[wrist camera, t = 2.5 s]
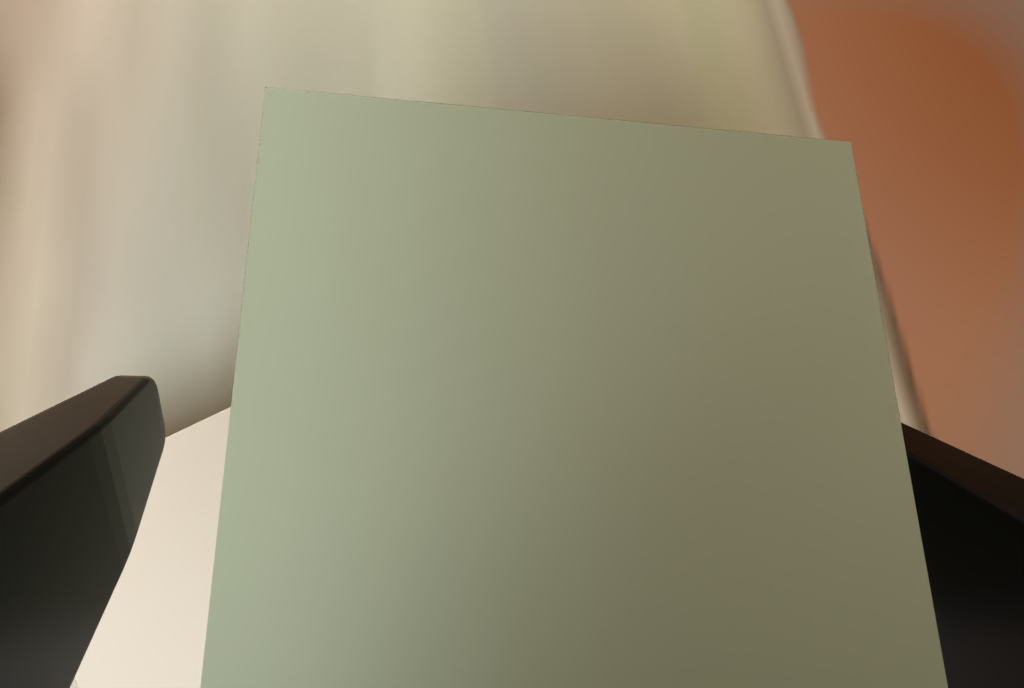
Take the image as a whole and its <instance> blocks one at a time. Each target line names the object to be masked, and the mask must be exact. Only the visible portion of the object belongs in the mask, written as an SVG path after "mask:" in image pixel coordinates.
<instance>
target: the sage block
mask: <svg viewBox="0 0 1024 688" xmlns="http://www.w3.org/2000/svg"><path fill="white" fill-rule="evenodd" d="M200 688H948V685H947V679H946V673H945V668H944V662H943V657H942V651H941V645H940V640H939V634H938V629H937V623H936V617H935V612H934V606H933V601H932V595H931V589H930V584H929V578H928V572H927V567H926V561H925V556H924V550H923V544H922V539H921V533H920V528H919V522H918V516H917V511H916V505H915V500H914V494H913V488H912V483H911V477H910V471H909V466H908V460H907V455H906V449H905V443H904V438H903V432H902V427H901V421H900V415H899V410H898V404H897V399H896V393H895V387H894V382H893V376H892V370H891V365H890V359H889V354H888V348H887V342H886V337H885V331H884V326H883V320H882V314H881V309H880V303H879V298H878V292H877V286H876V281H875V275H874V269H873V264H872V258H871V253H870V247H869V241H868V236H867V230H866V225H865V219H864V213H863V208H862V202H861V197H860V191H859V185H858V180H857V174H856V168H855V163H854V157H853V152H852V146H851V142H845V141H834V140H825V139H814V138H804V137H793V136H782V135H772V134H761V133H750V132H740V131H729V130H718V129H708V128H697V127H686V126H676V125H665V124H654V123H644V122H633V121H623V120H612V119H601V118H591V117H580V116H569V115H559V114H548V113H537V112H527V111H516V110H505V109H495V108H484V107H473V106H463V105H452V104H441V103H431V102H420V101H409V100H399V99H388V98H377V97H367V96H356V95H345V94H335V93H324V92H313V91H303V90H292V89H281V88H271V87H265V97H264V106H263V115H262V124H261V134H260V143H259V152H258V161H257V170H256V180H255V189H254V198H253V207H252V216H251V226H250V235H249V244H248V253H247V262H246V272H245V281H244V290H243V299H242V309H241V318H240V327H239V336H238V345H237V355H236V364H235V373H234V382H233V391H232V401H231V410H230V419H229V428H228V437H227V447H226V456H225V465H224V474H223V484H222V493H221V502H220V511H219V520H218V530H217V539H216V548H215V557H214V566H213V576H212V585H211V594H210V603H209V612H208V622H207V631H206V640H205V649H204V659H203V668H202V677H201V686H200Z"/></svg>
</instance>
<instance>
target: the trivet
mask: <svg viewBox="0 0 1024 688" xmlns="http://www.w3.org/2000/svg"><path fill="white" fill-rule="evenodd" d="M230 410H231V407H229V408H227V409H225V410H223V411H221V412H218V413H216V414H214V415H212V416H210V417H208V418H206V419H204V420H202V421H199V422H197V423H195V424H193V425H191V426H189V427H187V428H185V429H183V430H181V431H178V432H176V433H174V434H172V435H170V436H168V437H166V438H165V444H164V449H163V452H162V455H161V459H160V462H159V465H158V468H157V471H156V475H155V478H154V481H153V484H152V487H151V491H150V494H149V497H148V500H147V504H146V507H145V510H144V513H143V516H142V520H141V523H140V526H139V529H138V532H137V535H136V538H135V541H134V544H133V547H132V550H131V553H130V555H129V557H128V560H127V562H126V565H125V567H124V569H123V572H122V574H121V576H120V578H119V580H118V583H117V585H116V587H115V589H114V591H113V594H112V596H111V598H110V600H109V602H108V605H107V607H106V609H105V611H104V614H103V616H102V618H101V620H100V622H99V625H98V627H97V629H96V631H95V633H94V636H93V638H92V640H91V642H90V644H89V647H88V649H87V651H86V653H85V655H84V658H83V660H82V662H81V664H80V666H79V669H78V671H77V673H76V675H75V679H76V682H77V684H78V687H79V688H200V686H201V677H202V668H203V659H204V649H205V640H206V631H207V622H208V612H209V603H210V594H211V585H212V576H213V566H214V557H215V548H216V539H217V530H218V520H219V511H220V502H221V493H222V484H223V474H224V465H225V456H226V447H227V437H228V428H229V419H230Z"/></svg>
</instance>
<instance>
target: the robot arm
mask: <svg viewBox="0 0 1024 688" xmlns="http://www.w3.org/2000/svg"><path fill="white" fill-rule="evenodd" d="M901 427H902V432H903V438H904V443H905V449H906V455H907V460H908V466H909V471H910V477H911V483H912V488H913V494H914V500H915V505H916V511H917V516H918V522H919V528H920V533H921V539H922V544H923V550H924V556H925V561H926V567H927V572H928V578H929V584H930V589H931V595H932V601H933V606H934V612H935V617H936V623H937V629H938V634H939V640H940V645H941V651H942V657H943V662H944V668H945V673H946V679H947V685H948V688H1024V479H1023V478H1021V477H1018V476H1016V475H1014V474H1012V473H1010V472H1008V471H1005V470H1003V469H1001V468H999V467H997V466H994V465H992V464H990V463H988V462H986V461H983V460H981V459H979V458H977V457H975V456H972V455H970V454H968V453H966V452H964V451H962V450H960V449H958V448H955V447H953V446H951V445H949V444H947V443H944V442H942V441H940V440H938V439H936V438H934V437H931V436H929V435H927V434H925V433H923V432H921V431H918V430H916V429H914V428H912V427H910V426H908V425H905V424H903V423H901ZM164 444H165V426H164V421H163V415H162V410H161V405H160V399H159V394H158V389H157V385H156V383H155V381H154V380H153V379H152V378H150V377H148V376H115V377H113V378H110V379H108V380H106V381H104V382H102V383H100V384H98V385H96V386H94V387H92V388H90V389H88V390H86V391H84V392H82V393H80V394H78V395H76V396H74V397H71V398H69V399H67V400H65V401H63V402H61V403H59V404H57V405H55V406H53V407H51V408H49V409H47V410H45V411H43V412H41V413H39V414H37V415H35V416H32V417H30V418H28V419H26V420H24V421H22V422H20V423H18V424H16V425H14V426H12V427H10V428H8V429H6V430H4V431H2V432H0V688H70V686H71V684H72V682H73V680H74V677H75V675H76V673H77V671H78V669H79V666H80V664H81V662H82V660H83V658H84V655H85V653H86V651H87V649H88V647H89V644H90V642H91V640H92V638H93V636H94V633H95V631H96V629H97V627H98V625H99V622H100V620H101V618H102V616H103V614H104V611H105V609H106V607H107V605H108V602H109V600H110V598H111V596H112V594H113V591H114V589H115V587H116V585H117V583H118V580H119V578H120V576H121V574H122V572H123V569H124V567H125V565H126V562H127V560H128V557H129V555H130V553H131V550H132V547H133V544H134V541H135V538H136V535H137V532H138V529H139V526H140V523H141V520H142V516H143V513H144V510H145V507H146V504H147V500H148V497H149V494H150V491H151V487H152V484H153V481H154V478H155V475H156V471H157V468H158V465H159V462H160V459H161V455H162V452H163V449H164Z"/></svg>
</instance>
